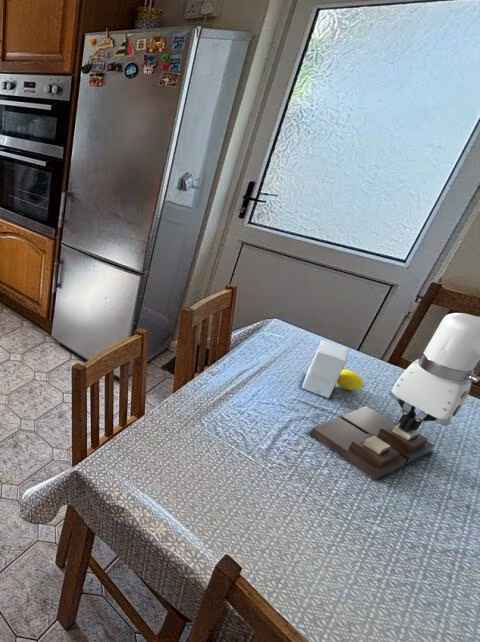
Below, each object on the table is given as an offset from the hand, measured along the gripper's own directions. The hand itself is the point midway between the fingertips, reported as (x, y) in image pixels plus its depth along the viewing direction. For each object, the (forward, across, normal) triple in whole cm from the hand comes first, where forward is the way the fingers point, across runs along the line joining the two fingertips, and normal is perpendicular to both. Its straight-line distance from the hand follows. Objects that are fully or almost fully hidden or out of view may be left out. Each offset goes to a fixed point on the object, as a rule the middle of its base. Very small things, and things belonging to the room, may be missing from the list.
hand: (406, 428), depth 98 cm
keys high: (+6, +3, +11) cm, 12 cm away
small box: (+6, +21, -5) cm, 22 cm away
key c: (+2, 0, 0) cm, 2 cm away
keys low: (+6, +3, 0) cm, 6 cm away
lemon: (+6, +18, -12) cm, 22 cm away
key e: (+2, 0, +11) cm, 11 cm away
